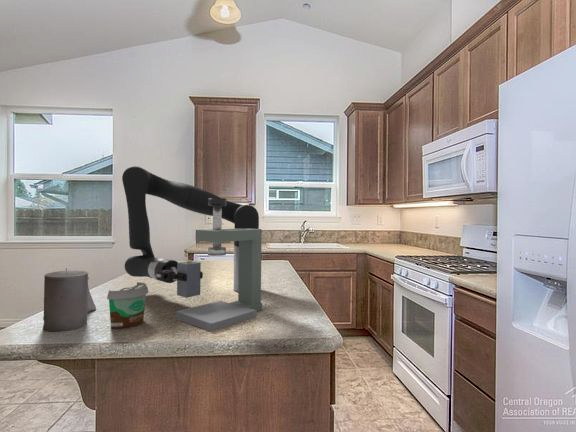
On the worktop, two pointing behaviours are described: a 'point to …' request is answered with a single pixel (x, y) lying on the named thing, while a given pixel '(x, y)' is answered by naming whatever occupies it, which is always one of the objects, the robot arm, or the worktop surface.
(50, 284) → the pillar candle
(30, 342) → the worktop surface
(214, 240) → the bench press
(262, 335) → the worktop surface
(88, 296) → the flask
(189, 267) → the block
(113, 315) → the food container
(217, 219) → the press ram
